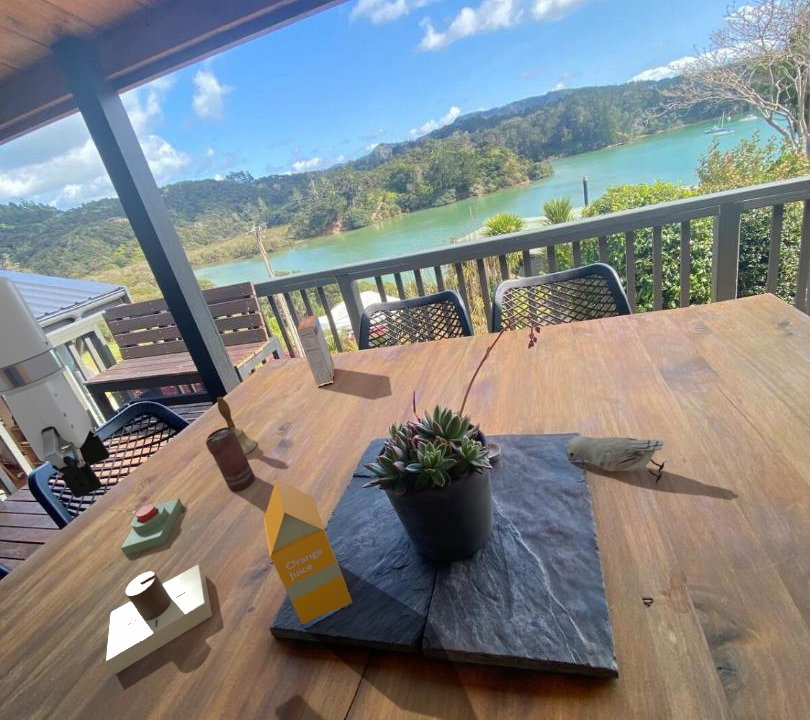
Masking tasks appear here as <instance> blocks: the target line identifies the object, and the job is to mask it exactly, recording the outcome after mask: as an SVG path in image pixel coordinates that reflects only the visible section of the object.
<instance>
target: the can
mask: <svg viewBox="0 0 810 720" xmlns="http://www.w3.org/2000/svg"><path fill="white" fill-rule="evenodd" d="M205 445H206V447H207V450H208V451H209V453H210V454H211V455H212V456H213V459H214V461H215V463H216V465H217V467H218V469H219V471H220V473H221V475H222V477H223V479H224V481H225V484H226V485H227V488H228V489H229V491H232V492H239V491H240V492H241V491H242V490H244V489H247V488H249V486H252V484H253V483H254V481H255V474H254V471H253V469H252V467H251V465H250V463H249V461H248V458H247V456H246V455H245V454H244V451H243V449H242V447H241V445H240V443H239V440H238V438H237V436H236V434H235V432H234V430H232V429H231V428H230V427H228V426H225V427H222V428H219V429H216V430H214V431H212V432H211V433H210V434H209V435H208V436H207V437H206V440H205Z"/></svg>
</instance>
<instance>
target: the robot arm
mask: <svg viewBox="0 0 810 720" xmlns="http://www.w3.org/2000/svg"><path fill="white" fill-rule="evenodd" d="M66 370H67V367H66V366H65V364H64V363H63V360H62V359H61V357H60V356H59V354H58V353H57V351H56V349H55V347H54V346H53V344H52V342H51V341H50V339H49V337H48V336H47V335H46V333H45V331H44V330H43V328H42V326H41V325H40V323H39V321H38V319H37V318H36V316H35V315H34V313H33V311H32V310H31V308H30V307H29V305H28V303H27V301H26V300H25V298H24V297H23V295H22V293H21V291H20V289H19V288H18V287H17V285H16V284H15V282H14V281H13V280H11V278H9V277H7V276H5V275H0V397H3V396H4V399H5V401H6V404H7V407H8V409H9V411H10V413H11V415H12V417H13V418H14V420H15V422H16V424H17V426H18V428H19V430H20V431H21V432H22V435H23V436H24V437H25V439H26V441H27V442H28V444H29V446H30V447H31V449H32V450H33V452H34V454H35V455H36V457H37V458H38V460H39V461H41V462H43V463H47V462H49V463H50V464H51V467H52V469H54V470H55V471H56V473H57V475H58V476H59V477H60V478H61V479H62V480H63V482H64V484H65V485H66V487H67V488H68V489H69V491H70V493H71V494H72V496H74V497H73V498H76V499H79V498H82V497H84V496H86V495H89V494H90V493H93V492H96V491H97V490H98V491H99V490H100V489H101V488H102V486H103V484H102V482H101V480H100V478H98V476H97V474H96V472H95V471H94V469H93V468H92V467H91V466H93V465H95V464H98V463H100V462H103V461H105V460H108V459H109V458H110V456H111V455H110V454H111V453H110V452H109V450H108V449H107V447H106V445H105V444H104V442H103V441H102V439H101V438H100V436H99V434H97V431H96V429H95V428H94V427H93V426H92V421H91V418H90V416H89V414H88V412H87V410H86V409H85V407H84V405H83V404H82V402H81V401H80V399H79V397H78V396H77V394H76V393H75V391H74V390H73V389H72V387H71V385H70V383H68V381H67V379H65V377H64V376H63V375H62V374H63V373H64V372H65V371H66ZM71 454H72V456H73V457H71V456H69V455H71Z"/></svg>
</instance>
